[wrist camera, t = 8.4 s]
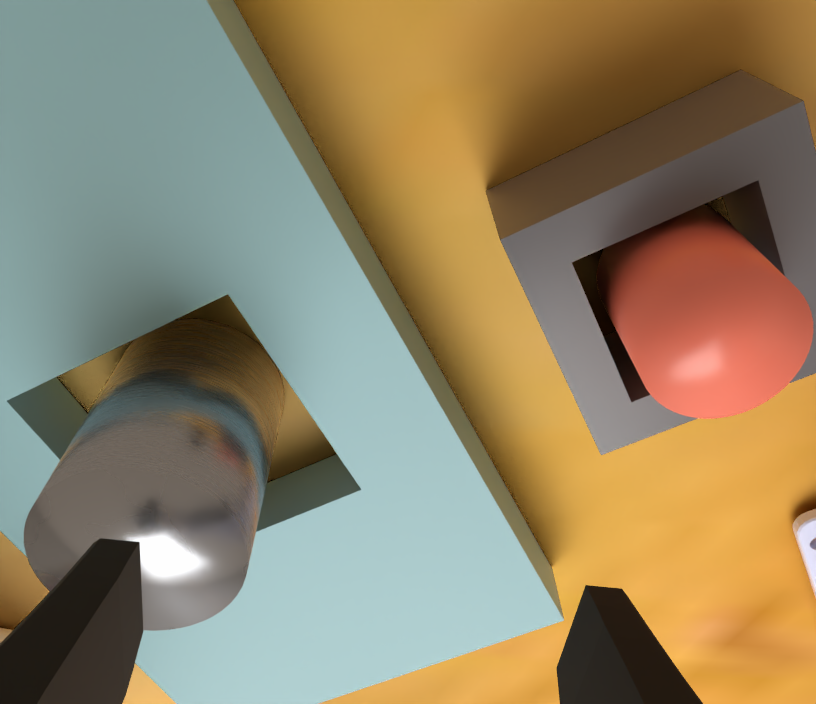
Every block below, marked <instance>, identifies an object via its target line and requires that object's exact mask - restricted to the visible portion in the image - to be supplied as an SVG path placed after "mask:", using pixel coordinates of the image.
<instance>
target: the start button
mask: <svg viewBox="0 0 816 704" xmlns="http://www.w3.org/2000/svg"><path fill="white" fill-rule="evenodd" d="M597 288H598V293H599V296H600V299H601V301H602V303H603V305H604V307H605V309H606V311H607V313H608V315H609V317H610V319H611V321H612V323H613V325H614V327H615V328H616V330H617V332H618V334H619V336H620V338H621V340H622V342H623V344H624V346H625V348H626V350H627V352H628V354H629V356H630V358H631V360H632V362H633V364H634V366H635V368H636V370H637V372H638V374H639V376H640V378H641V380H642V382H643V384H644V386H645V388H646V389H647V391H648V392H649V393H650V395H651V396H652V397H653V398H654V399H655V400H656V401H657V402H658V403H660V404H661V405H662V406H664V407H665V408H667V409H669V410H671V411H673V412H675V413H678V414H681V415H684V416H688V417H693V418H703V419H707V418H722V417H728V416H732V415H736V414H740V413H743V412H746V411H748V410H750V409H753V408H755V407H757V406H759V405H761V404H763V403H764V402H766V401H768V400H769V399H771V398H772V397H774V396H775V395H776V394H778V393H779V392H780V391H781V390H782V389H783V388H785V387H786V386H787V385H788V384H789V382H790V381H791V380H792V379H793V378H794V377H795V375H796V374H797V373H798V372H799V370H800V369H801V367H802V365H803V364H804V362H805V360H806V358H807V355H808V353H809V350H810V347H811V343H812V338H813V318H812V313H811V310H810V307H809V305H808V303H807V301H806V299H805V297H804V296H803V295H802V293H801V292H800V291H799V290H798V289H797V288H796V287H795V286H794V285H793V284H792V283H791V282H790V281H789V280H788V279H787V278H786V277H785V276H784V275H783V274H782V273H781V272H780V271H779V270H778V269H777V268H776V267H775V266H774V265H773V264H772V263H771V262H770V261H769V260H768V259H767V258H766V257H765V256H764V255H762V254H761V253H760V252H759V251H758V250H757V249H756V248H755V247H754V246H753V245H752V244H751V243H750V242H749V241H748V240H747V239H746V238H745V237H744V236H743V235H742V234H741V233H740V232H739V231H738V230H737V229H736V228H735V227H734V226H733V225H732V224H731V223H730V222H729V221H728V220H727V219H725V218H724V217H723V216H722V215H721V214H720V213H718V212H716V211H715V210H713V209H711V208H709V207H707V206H704V205H701V206H698V207H696V208H694V209H692V210H689V211H687V212H685V213H683V214H680V215H678V216H676V217H674V218H671V219H669V220H667V221H664V222H662V223H660V224H658V225H655V226H653V227H651V228H649V229H646V230H644V231H642V232H640V233H637V234H635V235H633V236H631V237H628V238H626V239H624V240H622V241H619V242H617V243H615V244H612V245H610V246H608V247H606V248H604V250H603V252H602V254H601V257H600V260H599V264H598V268H597Z"/></svg>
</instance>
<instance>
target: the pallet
mask: <svg viewBox="0 0 816 704" xmlns="http://www.w3.org/2000/svg"><path fill="white" fill-rule="evenodd" d="M227 294H228V295H229V297H230V298H231V299H232V301H233V302H234V304H235V305H236V307H237V308H238V310H239V311H240V313H241V314H242V316H243V317H244V319H245V320H246V321H247V323H248V324H249V326H250V327H251V329H252V330H253V332H254V333H255V335H256V336H257V338H258V339H259V340H260V342H261V343H262V345H263V346H264V348H265V349H266V351H267V352H268V354H269V355H270V357H271V358H272V359H273V361H274V362H275V364H276V365H277V367H278V368H279V370H280V371H281V373H282V374H283V376H284V377H285V379H286V380H287V381H288V383H289V384H290V386H291V387H292V389H293V390H294V392H295V393H296V395H297V396H298V398H299V399H300V400H301V402H302V403H303V405H304V406H305V408H306V409H307V411H308V412H309V414H310V415H311V417H312V418H313V419H314V421H315V422H316V424H317V425H318V427H319V428H320V430H321V431H322V433H323V434H324V436H325V437H326V439H327V440H328V441H329V443H330V444H331V446H332V447H333V449H334V450H335V452H336V453H337V454H336V455H334V456H331V457H329V458H326V459H324V460H321V461H319V462H317V463H314V464H312V465H309V466H307V467H305V468H302V469H300V470H297V471H295V472H293V473H290V474H288V475H285V476H283V477H281V478H278V479H276V480H273V481H271V482H268V483H267V484H266V489H265V493H264V498H263V502H262V507H261V511H260V516H259V520H258V525H257V529H256V534H255V539H254V543H253V548H252V552H251V557H250V561H249V566H248V570H247V575H246V578H245V581H244V584H243V586H242V588H241V590H240V591H239V593H238V595H237V596H236V597H235V599H234V600H233V601H232V602H231V603H230V604H229V605H228V606H227V607H226V608H224V609H223V610H222V611H221V612H219V613H218V614H216V615H214V616H213V617H211V618H209V619H207V620H205V621H203V622H200V623H197V624H194V625H191V626H187V627H183V628H179V629H171V630H159V631H147V630H143V635H142V638H141V642H140V646H139V649H138V653H137V657H136V660H135V663H136V664H137V665H138V666H139V667H140V668H141V669H142V670H143V671H144V672H145V673H146V674H147V675H148V676H149V677H150V678H151V679H152V680H153V681H154V682H155V683H156V684H157V685H158V686H159V687H160V688H161V689H162V690H163V691H164V692H165V693H166V694H167V695H168V696H169V697H170V698H171V699H172V700H173V701H174V702H175V703H176V704H318V703H321V702H324V701H327V700H330V699H333V698H336V697H339V696H342V695H345V694H348V693H351V692H354V691H357V690H360V689H363V688H366V687H369V686H372V685H375V684H377V683H380V682H383V681H386V680H389V679H392V678H395V677H398V676H401V675H404V674H407V673H410V672H413V671H416V670H419V669H422V668H425V667H428V666H431V665H434V664H437V663H440V662H443V661H445V660H448V659H451V658H454V657H457V656H460V655H463V654H466V653H469V652H472V651H475V650H478V649H481V648H484V647H487V646H490V645H493V644H496V643H499V642H502V641H505V640H508V639H510V638H513V637H516V636H519V635H522V634H525V633H528V632H531V631H534V630H537V629H540V628H543V627H546V626H549V625H552V624H555V623H558V622H561V621H564V618H563V613H562V609H561V605H560V600H559V596H558V592H557V587H556V583H555V579H554V574H553V570H552V567H551V566H550V564H549V562H548V560H547V559H546V557H545V555H544V553H543V551H542V550H541V548H540V546H539V544H538V542H537V541H536V539H535V537H534V535H533V534H532V532H531V530H530V528H529V526H528V525H527V523H526V521H525V519H524V518H523V516H522V514H521V512H520V510H519V509H518V507H517V505H516V503H515V501H514V500H513V498H512V496H511V494H510V493H509V491H508V489H507V487H506V485H505V484H504V482H503V480H502V478H501V477H500V475H499V473H498V471H497V469H496V468H495V466H494V464H493V462H492V460H491V459H490V457H489V455H488V453H487V452H486V450H485V448H484V446H483V444H482V443H481V441H480V439H479V437H478V435H477V434H476V432H475V430H474V428H473V427H472V425H471V423H470V421H469V419H468V418H467V416H466V414H465V412H464V411H463V409H462V407H461V405H460V403H459V402H458V400H457V398H456V396H455V394H454V393H453V391H452V389H451V387H450V386H449V384H448V382H447V380H446V378H445V377H444V375H443V373H442V371H441V370H440V368H439V366H438V364H437V362H436V361H435V359H434V357H433V355H432V353H431V352H430V350H429V348H428V346H427V345H426V343H425V341H424V339H423V337H422V336H421V334H420V332H419V330H418V329H417V327H416V325H415V323H414V321H413V320H412V318H411V316H410V314H409V312H408V311H407V309H406V307H405V305H404V304H403V302H402V300H401V298H400V296H399V295H398V293H397V291H396V289H395V287H394V286H393V284H392V282H391V280H390V279H389V277H388V275H387V273H386V271H385V270H384V268H383V266H382V264H381V263H380V261H379V259H378V257H377V255H376V254H375V252H374V250H373V248H372V246H371V245H370V243H369V241H368V239H367V238H366V236H365V234H364V232H363V230H362V229H361V227H360V225H359V223H358V222H357V220H356V218H355V216H354V214H353V213H352V211H351V209H350V207H349V205H348V204H347V202H346V200H345V198H344V197H343V195H342V193H341V191H340V189H339V188H338V186H337V184H336V182H335V180H334V179H333V177H332V175H331V173H330V172H329V170H328V168H327V166H326V164H325V163H324V161H323V159H322V157H321V156H320V154H319V152H318V150H317V148H316V147H315V145H314V143H313V141H312V139H311V138H310V136H309V134H308V132H307V131H306V129H305V127H304V125H303V123H302V122H301V120H300V118H299V116H298V115H297V113H296V111H295V109H294V107H293V106H292V104H291V102H290V100H289V98H288V97H287V95H286V93H285V91H284V90H283V88H282V86H281V84H280V82H279V81H278V79H277V77H276V75H275V74H274V72H273V70H272V68H271V66H270V65H269V63H268V61H267V59H266V57H265V56H264V54H263V52H262V50H261V49H260V47H259V45H258V43H257V41H256V40H255V38H254V36H253V34H252V32H251V31H250V29H249V27H248V25H247V24H246V22H245V20H244V18H243V16H242V15H241V13H240V11H239V9H238V8H237V6H236V4H235V2H234V0H0V531H1V532H2V533H3V534H4V535H5V536H6V537H7V538H8V539H9V540H10V541H11V542H12V543H13V544H14V545H15V546H16V547H17V548H18V549H19V550H20V551H21V552H22V553H23V554H24V555H25V556H26V557H27V555H26V552H25V547H24V527H25V522H26V519H27V516H28V514H29V511H30V510H31V508H32V506H33V505H34V503H35V501H36V500H37V498H38V496H39V495H40V493H41V491H42V490H43V488H44V486H45V485H46V483H47V481H48V480H49V478H50V476H51V475H52V473H53V471H54V470H55V468H56V466H57V465H58V463H59V461H60V460H61V458H62V456H63V455H64V453H65V451H66V450H67V448H68V446H69V445H70V443H71V441H72V440H73V438H74V436H75V434H76V433H77V431H78V429H79V428H80V426H81V424H82V423H83V421H84V419H85V418H86V416H87V412H86V411H85V410H84V409H83V408H82V407H81V405H80V404H79V403H78V402H77V401H76V400H75V398H74V397H73V396H72V395H71V394H70V393H69V391H68V390H67V389H66V388H65V387H64V386H63V384H62V383H61V382H60V381H59V380H58V379H57V376H59V375H61V374H63V373H65V372H67V371H69V370H72V369H74V368H76V367H78V366H80V365H82V364H84V363H86V362H88V361H90V360H92V359H94V358H96V357H99V356H101V355H103V354H105V353H107V352H109V351H111V350H113V349H115V348H117V347H119V346H121V345H123V344H126V343H128V342H130V341H132V340H134V339H136V338H138V337H140V336H142V335H144V334H146V333H148V332H150V331H153V330H155V329H157V328H159V327H161V326H163V325H165V324H167V323H169V322H171V321H173V320H175V319H177V318H180V317H182V316H184V315H186V314H188V313H190V312H192V311H194V310H196V309H198V308H200V307H202V306H204V305H207V304H209V303H211V302H213V301H215V300H217V299H219V298H221V297H223V296H225V295H227Z"/></svg>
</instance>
